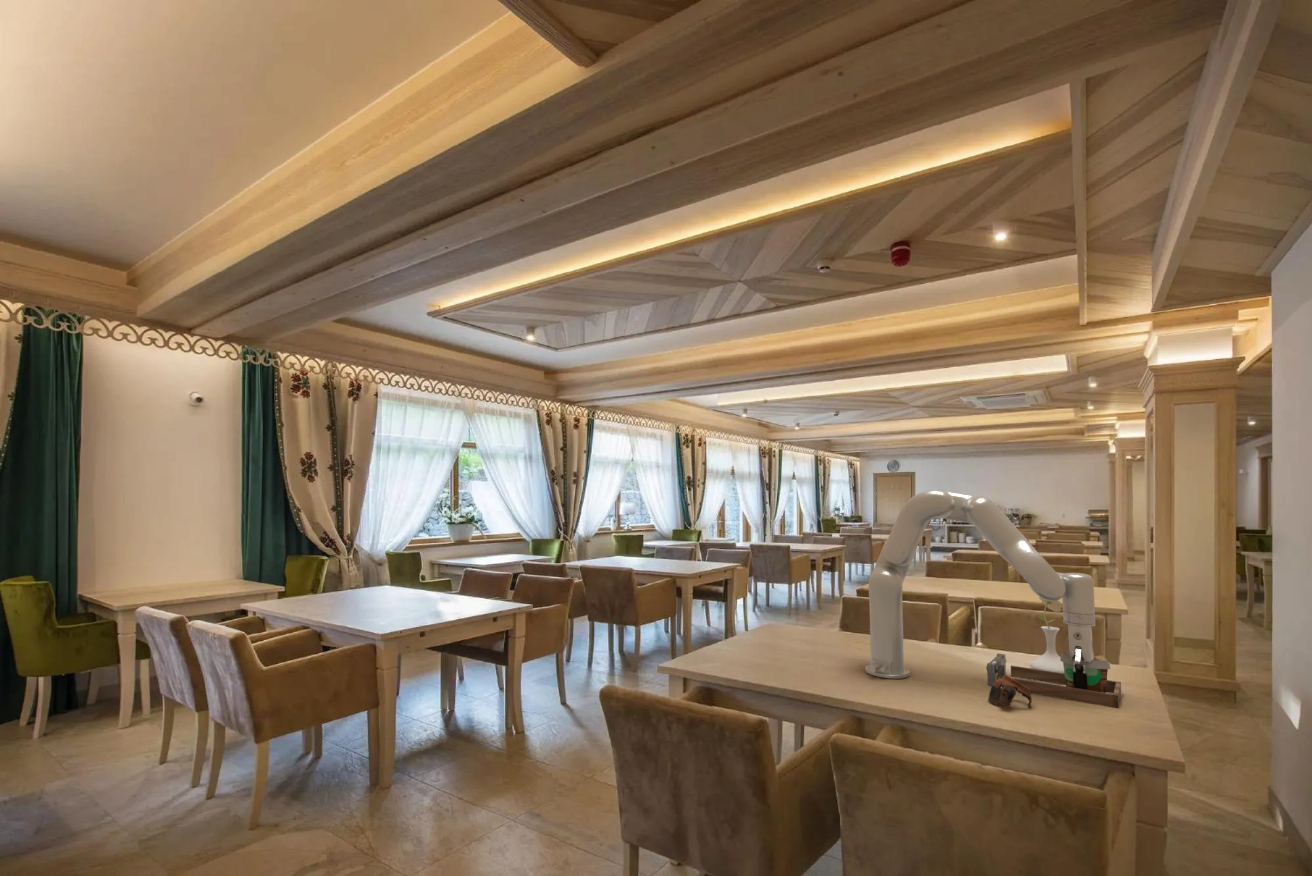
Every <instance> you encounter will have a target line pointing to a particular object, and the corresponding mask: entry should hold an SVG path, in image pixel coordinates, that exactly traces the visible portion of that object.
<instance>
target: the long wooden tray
mask: <svg viewBox="0 0 1312 876" xmlns="http://www.w3.org/2000/svg"><path fill="white" fill-rule="evenodd" d="M1012 676H1014V677H1012ZM1003 677H1004V676H1001V675H1000V679H1001V678H1003ZM1010 677H1012V678H1013V679H1014V680H1016V681H1017V682H1019V683H1021V684H1022V685H1024V686H1026V687H1027V688H1029V689H1031V690H1032V691H1033V692H1032V694H1034V693H1035V695H1042V696H1046V697H1053V698H1059V699H1064V698H1065V699H1064V700H1070V701H1075V700H1077V701H1076V702H1081V701H1082V703H1087V702H1088V704H1093V705H1098V704H1100V706H1103V707H1104V706H1105V707H1110V708H1117V709H1119V706H1120V703H1121V702H1120V701H1121V697H1122V682H1121V681H1117V680H1110V679H1107V684H1106V691H1107V692H1106V693H1103V692H1096V691H1090V690H1084V689H1078V688H1072V687H1066V682H1065V674H1064V673H1058V672H1052V671H1045V670H1038V669H1032V668H1030V667H1025V666H1017V665H1010ZM1018 677H1021V678H1018ZM1025 678H1026V679H1025ZM1031 679H1033V680H1031ZM1037 680H1038V681H1037ZM1043 681H1045V682H1043ZM1001 687H1002V688H1003V686H1001ZM1002 688H1001V689H1002Z"/></svg>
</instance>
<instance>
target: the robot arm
mask: <svg viewBox="0 0 1312 876" xmlns="http://www.w3.org/2000/svg"><path fill="white" fill-rule="evenodd" d="M934 519H943V520H944V519H945V520H951V521H955V522H962V523H968V524H972V525H973V526H974V528H976V530H977V531H978V532H979V534H981V536H983V537H984V539H985V540H986V541H987V542H988V543H989V544H990V546H991V547H992V548H993V549H994V550H995V552H996V553H998V554H999V556H1000V557H1001V558H1002V559H1003V560H1005V561H1006V562H1007V563H1009V565H1011V566H1012V567H1013V568H1014V569H1015V570H1016V572H1018V574H1019V575H1020V576H1021V577H1022V578H1023V580H1025V581H1026V583H1027V584H1028V585H1029V587H1030V590H1032V592H1033V593H1034V594H1036V596H1040V597H1041V598H1042V599H1044V600H1047V601H1057V600H1058V601H1060V600H1061V601H1062V603H1061V605H1062V622H1063V624H1066V625H1068V626H1067V629H1068V649H1069V656H1070V659H1071V661H1073V671H1074V672H1073V686H1074V687H1075V688H1081V689H1087V688H1088V685H1087V674H1086V667H1085V665H1083V666H1082V665H1081V659H1085V660H1084V662H1085V661H1086V662H1088V663H1089V664H1091V663H1092V660H1094V645H1093V644H1094V643H1093V629H1092V627H1096V607H1095V604H1096V603H1095V588H1094V587H1095V585H1094V584H1095V583H1094V578H1093V577H1092V575H1090V574H1086V573H1082V572H1058V571H1055V569H1054V568H1053V567H1052V566H1051V565H1050V564H1049V563H1048V561H1047V560H1046V559H1045V558H1044V557H1043V556H1042V555H1041V554H1040V553H1039V552H1038V551H1037V550H1036V548H1034V546H1033V545H1032V544H1031V542H1030V541H1029V540H1028V539H1027V538H1026V536H1024V535H1023V533H1022V532H1021V531H1020V530H1019V529H1018V527H1016V525H1014V524H1013V522H1012V521H1011V520H1010V519H1009V518H1008V516H1007V515H1006V514H1005V513H1004V512H1003V511H1002V510H1001V509H1000V507H998V506H997V504H996V503H995V502H993V501H992V500H991V499H990V498H988V497H986V496H978V495H976V496H975V495H968V494H962V493H956V492H949V491H946V490H941V489H933V490H927V491H922V492H920V493H917V494H916V495H914V496H912V497H910V498H909V499H908V500H907V501H906V502H905V503H904V505H903V506H902V507H901V509H900V511H899V513H898V515H897V518H896V519H895V522H894V524H893V526H892V529H891V531H890V532H889V533H890V534H889V535H888V538H887V539H886V540H885V542H884V543H883V547H882V548H881V551H880V552H879V553H880V554H879V556H878V558H877V561H876V563H875V566H874V569H873V571H872V572H871V574H870V576H869V579H868V599H869V604H868V605H869V635H870V637H869V639H870V641H869V642H870V643H869V645H870V646H869V647H870V649H869V650H870V664H868V665H866V666H865V667H864V668H865V670H864V671H865V673H867V674H869V675H870V676H874V677H878V678H884V679H897V680H898V679H905V678H908V677H909V676H910V674H911V673H910V670H909V669H907V668H905V667H904V666H905V663H904V661H905V660H904V619H903V618H904V615H903V583H904V581H905V578H906V576H907V575H908V571H909V570H910V567H911V564H912V562H913V560H914V559H915V557H916V553H917V549H918V545H919V544H920V541H921V538H922V536H923V535H924V533H925V529H926V528H927V525H928V524H929V523H930V522H931V521H932V520H934ZM1072 657H1073V658H1072Z"/></svg>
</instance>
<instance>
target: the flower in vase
mask: <svg viewBox="0 0 1312 876" xmlns="http://www.w3.org/2000/svg"><path fill="white" fill-rule="evenodd" d="M1039 600H1040V601H1041V602H1042V604H1044V610H1043V614H1041V613H1038V616H1037V619H1039V620H1042V621H1043V622H1045V623H1046V626H1045V625H1043V626H1040V628H1041V629H1042V631H1043V633H1044V636H1045V641H1046V650H1045V652H1044V653H1043V654H1041V655H1040V656H1038V657H1037V658H1035V659H1034V660H1033V661H1031V663H1030V665H1029V666H1030V667H1031V668H1032V669H1038V670H1045V671H1052V672H1058V673H1064V666H1063V662H1062V661H1060V658H1061V655H1059V654H1058V653H1057V650H1056V649H1057V648H1056V637H1057V634H1058V632H1059V631H1060V628H1059V627H1057V626H1050V625H1049V623H1051V622H1053V621H1056V620H1057V619H1058V617H1057V616H1056V617H1055V618H1054V619H1051V620H1049V621H1048V620H1047V619H1046V610H1047V609H1048V610H1051V611H1052V612H1055V613H1060V612H1063V604H1062V603H1061V601H1060V600H1057V601H1047V600H1044V599H1042V598H1041V597H1040V596H1039Z"/></svg>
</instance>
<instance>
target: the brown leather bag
mask: <svg viewBox="0 0 1312 876" xmlns="http://www.w3.org/2000/svg"><path fill="white" fill-rule="evenodd" d="M1013 678H1014V677H1012V676H1009V675H1008V674H1006V675H1004V677H1003V678H1001V677H1000V678H998V679H997V680H996V681H995V682H994V684H993V685H992V686H991V688H990V690H989V694H988V699H987V700H988V701H989V703H991V704H992V705H994V706H996V707H999V704H1000V703H1001V705H1003V706H1008V707H1010V706H1011V704H1012V701H1013V700H1014V698H1015V696H1016V695H1017V693H1018V694H1021V695H1022V696H1023V697H1024V698H1027V700H1028V704H1027V707H1028V709H1029V708H1031V706H1032V703H1033V699H1032V694H1033V693H1032V692H1033V691H1032V690H1031V689H1029V688H1027V687H1026V686H1024V685H1022V684H1021V683H1019V682H1017V681H1016V680H1014V679H1013ZM1001 686H1003V688H1001Z"/></svg>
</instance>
